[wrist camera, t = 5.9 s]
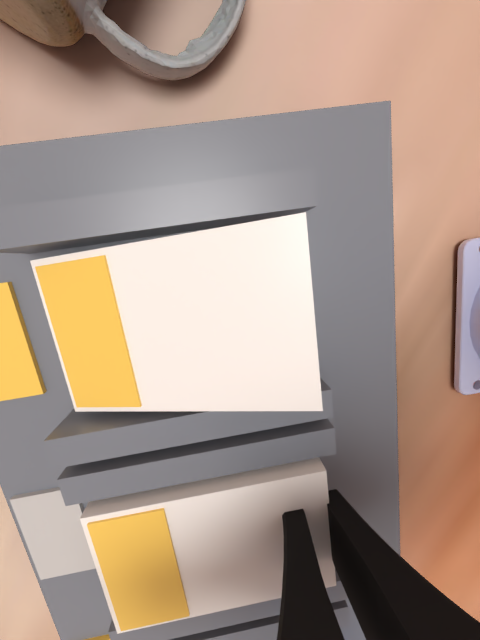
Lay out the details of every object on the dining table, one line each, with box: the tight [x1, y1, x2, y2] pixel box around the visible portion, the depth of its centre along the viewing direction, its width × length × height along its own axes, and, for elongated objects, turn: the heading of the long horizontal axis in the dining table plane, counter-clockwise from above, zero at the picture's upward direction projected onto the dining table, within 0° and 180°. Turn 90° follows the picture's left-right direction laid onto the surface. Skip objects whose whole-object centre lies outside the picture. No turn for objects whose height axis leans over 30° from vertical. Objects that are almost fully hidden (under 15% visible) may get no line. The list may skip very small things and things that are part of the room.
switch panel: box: [0, 101, 400, 640], centre depth 12 cm, size 16×28×5 cm, turn 8°
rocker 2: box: [80, 457, 336, 634], centre depth 10 cm, size 8×5×1 cm, turn 98°
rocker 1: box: [30, 212, 323, 412], centre depth 8 cm, size 8×5×1 cm, turn 98°
